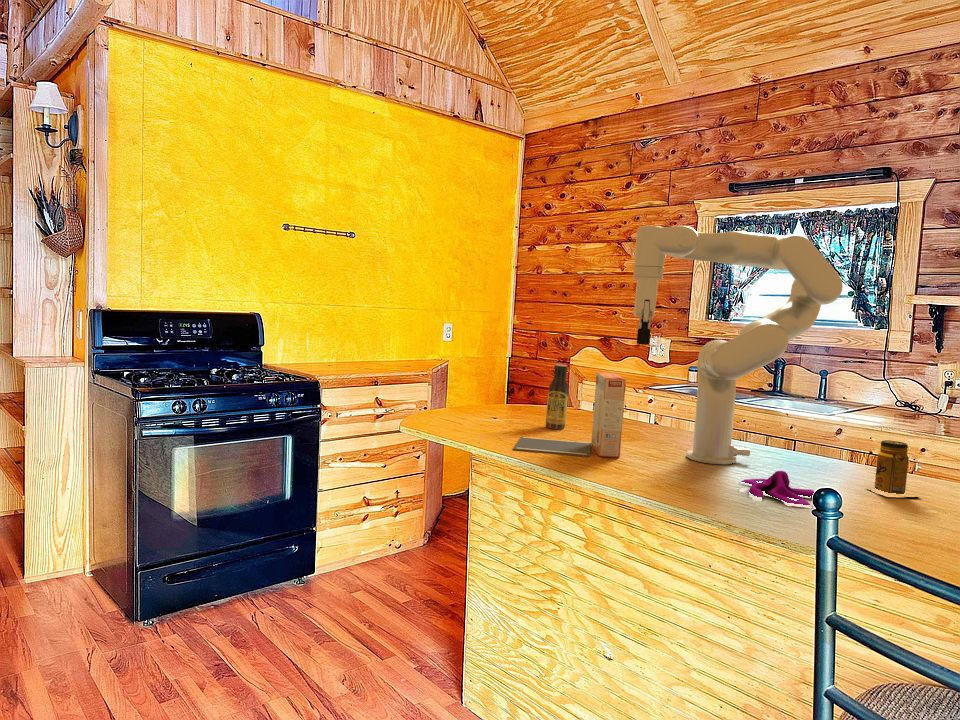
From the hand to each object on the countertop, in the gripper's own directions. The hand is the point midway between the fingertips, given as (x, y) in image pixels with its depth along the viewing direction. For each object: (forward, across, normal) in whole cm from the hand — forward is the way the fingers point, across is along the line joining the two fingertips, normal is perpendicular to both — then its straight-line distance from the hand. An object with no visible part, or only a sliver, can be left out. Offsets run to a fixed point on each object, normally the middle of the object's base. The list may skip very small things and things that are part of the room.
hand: (642, 344), depth 182 cm
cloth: (+30, +29, +29) cm, 51 cm away
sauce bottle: (+30, -28, -23) cm, 47 cm away
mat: (+30, 0, -22) cm, 37 cm away
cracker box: (+30, 0, -8) cm, 31 cm away
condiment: (+30, +18, +57) cm, 67 cm away
